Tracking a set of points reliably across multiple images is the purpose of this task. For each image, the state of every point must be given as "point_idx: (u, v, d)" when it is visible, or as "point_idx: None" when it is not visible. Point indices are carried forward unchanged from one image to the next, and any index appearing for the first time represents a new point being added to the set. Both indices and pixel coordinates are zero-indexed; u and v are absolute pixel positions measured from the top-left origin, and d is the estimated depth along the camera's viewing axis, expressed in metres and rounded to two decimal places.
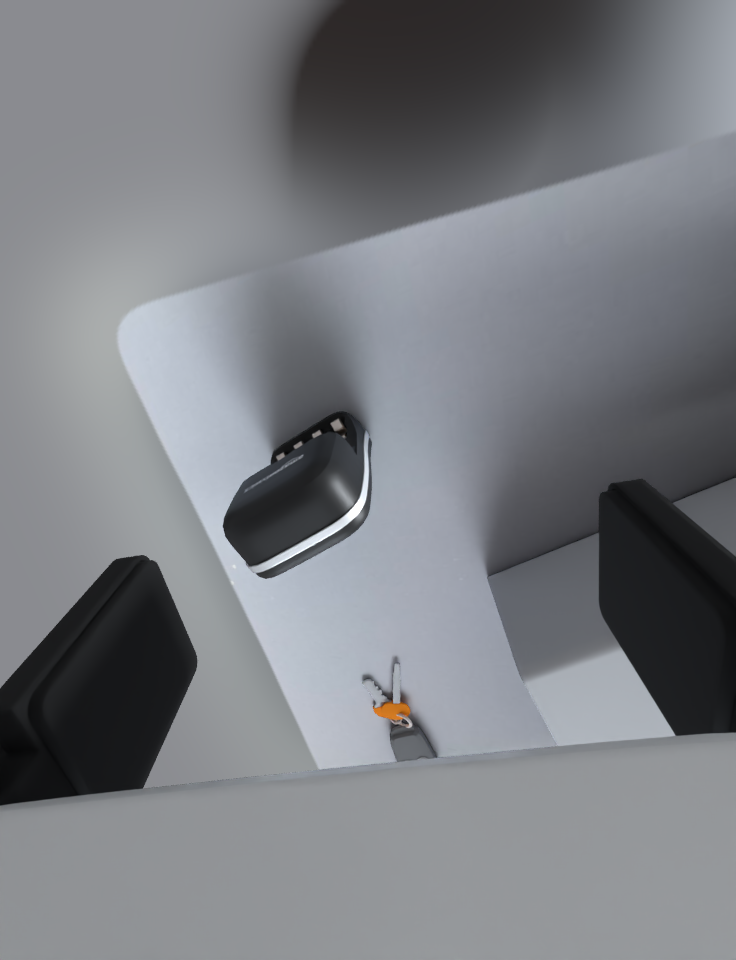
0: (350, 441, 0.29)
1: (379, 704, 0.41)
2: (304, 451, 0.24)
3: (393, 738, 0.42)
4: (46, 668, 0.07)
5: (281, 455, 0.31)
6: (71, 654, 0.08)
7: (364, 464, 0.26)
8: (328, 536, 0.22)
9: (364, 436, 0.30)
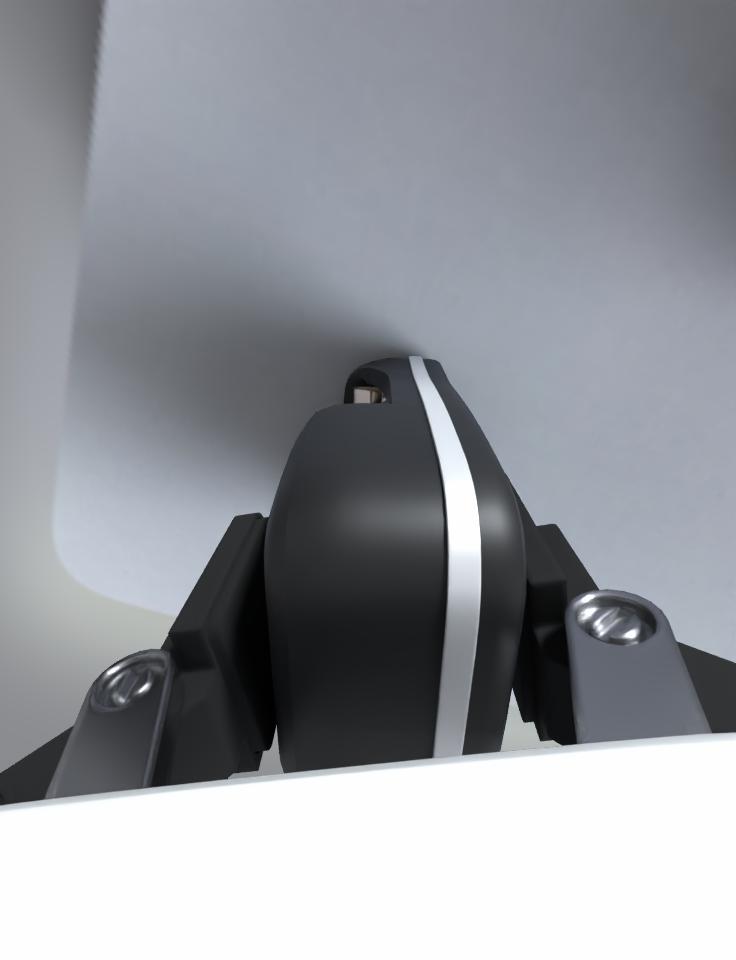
0: (388, 395, 0.13)
1: None
2: None
3: None
4: (215, 599, 0.08)
5: None
6: (230, 589, 0.08)
7: (423, 401, 0.10)
8: (476, 655, 0.06)
9: (410, 365, 0.15)
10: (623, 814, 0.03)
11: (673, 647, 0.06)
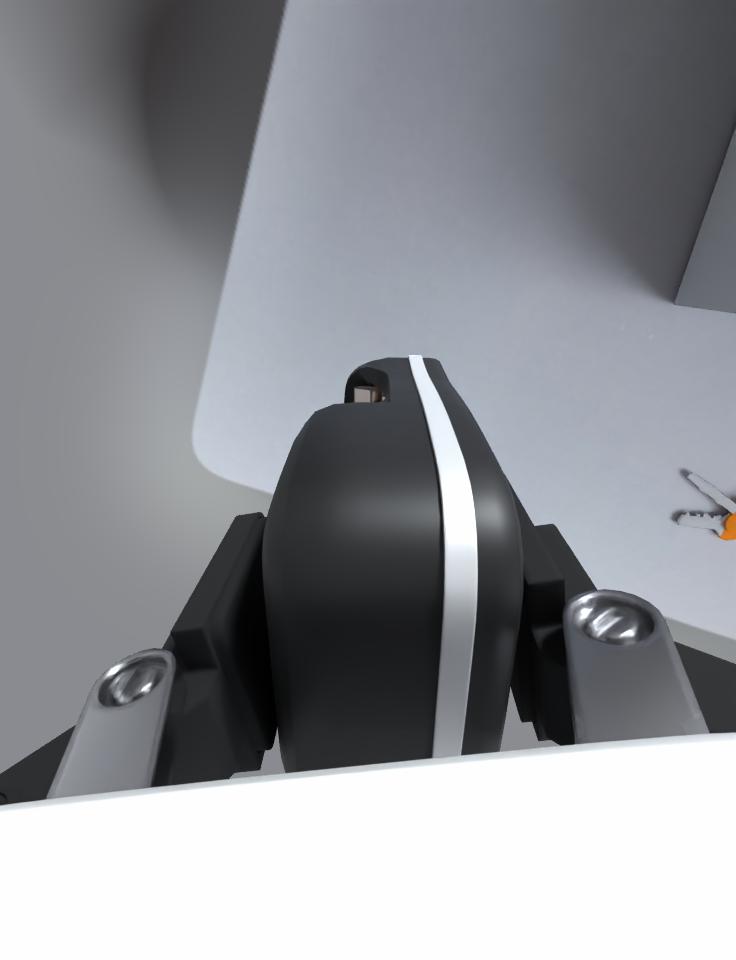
0: (388, 394, 0.13)
1: (721, 528, 0.32)
2: None
3: None
4: (216, 598, 0.08)
5: None
6: (231, 588, 0.08)
7: (422, 400, 0.10)
8: (474, 651, 0.06)
9: (410, 364, 0.15)
10: (623, 814, 0.03)
11: (670, 647, 0.06)
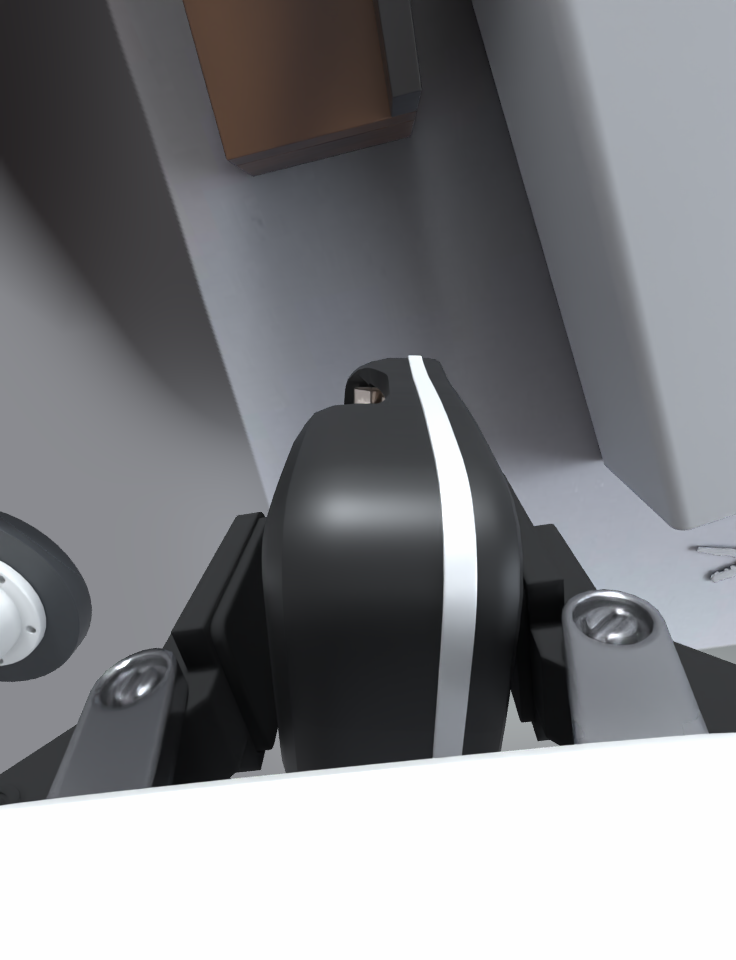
0: (388, 395, 0.13)
1: None
2: None
3: None
4: (217, 598, 0.08)
5: None
6: (232, 588, 0.08)
7: (421, 401, 0.10)
8: (474, 654, 0.06)
9: (409, 364, 0.14)
10: (623, 814, 0.03)
11: (669, 647, 0.06)
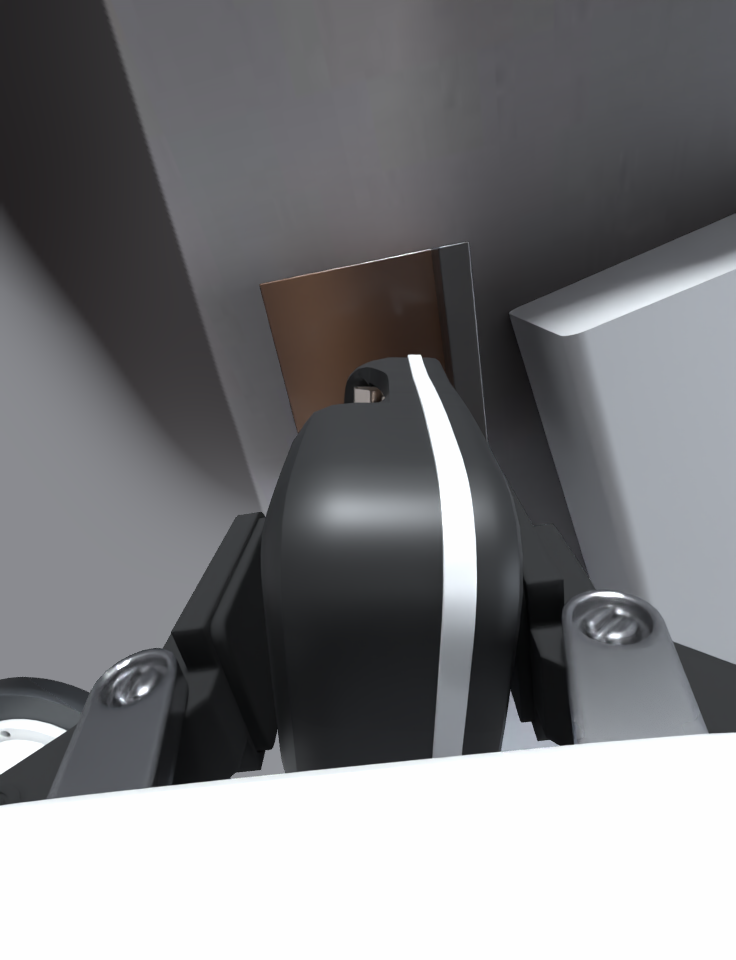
0: (387, 394, 0.13)
1: None
2: None
3: None
4: (217, 598, 0.08)
5: None
6: (232, 589, 0.08)
7: (421, 400, 0.10)
8: (473, 653, 0.06)
9: (409, 363, 0.14)
10: (623, 814, 0.03)
11: (669, 647, 0.06)
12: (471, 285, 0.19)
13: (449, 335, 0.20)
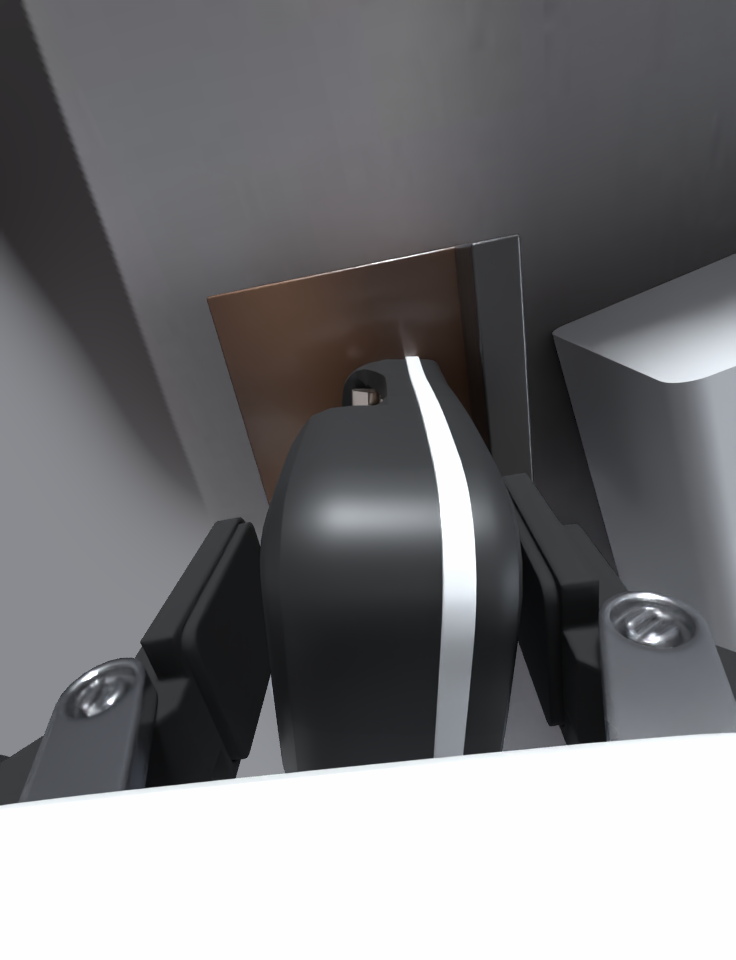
0: (385, 397, 0.13)
1: None
2: None
3: None
4: (189, 606, 0.08)
5: None
6: (205, 596, 0.08)
7: (419, 402, 0.10)
8: (473, 657, 0.06)
9: (407, 365, 0.14)
10: (623, 814, 0.03)
11: (712, 652, 0.06)
12: (520, 302, 0.12)
13: (484, 377, 0.13)
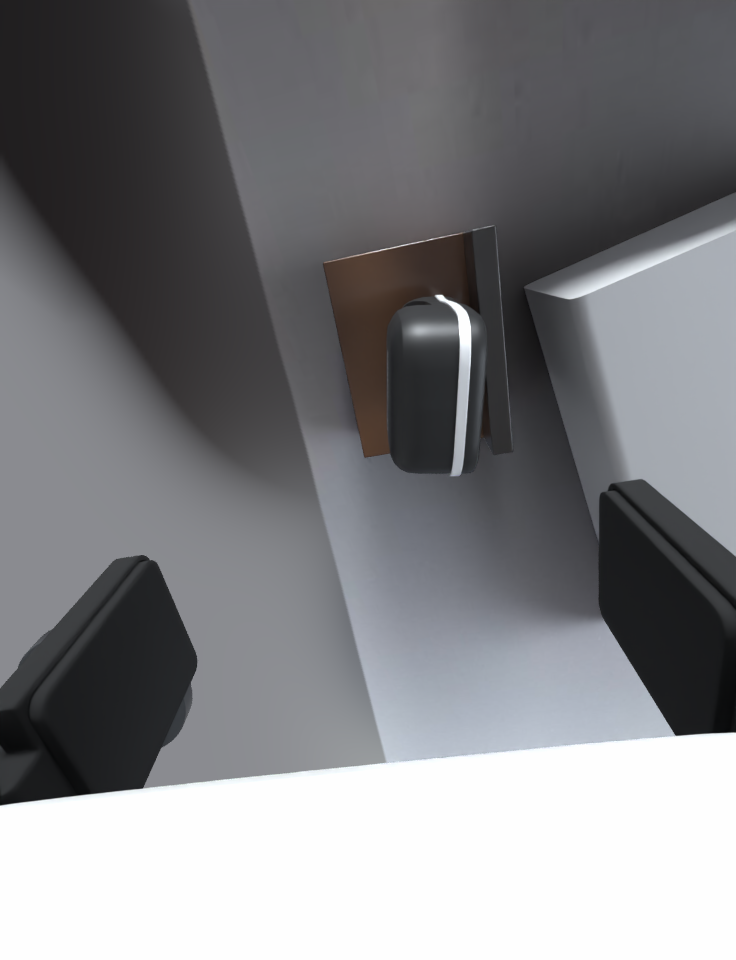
0: None
1: None
2: None
3: None
4: (46, 668, 0.07)
5: None
6: (71, 654, 0.08)
7: (447, 303, 0.22)
8: (470, 372, 0.18)
9: (437, 298, 0.26)
10: (623, 814, 0.03)
11: None
12: (497, 260, 0.24)
13: (478, 300, 0.25)
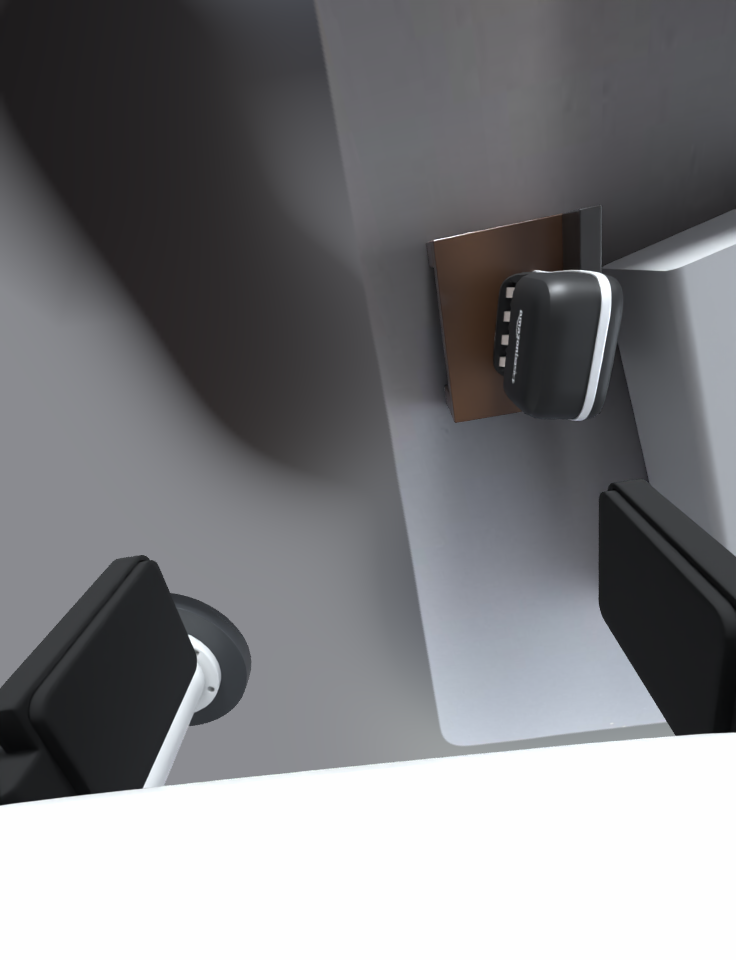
0: None
1: None
2: (518, 309, 0.24)
3: None
4: (46, 668, 0.07)
5: (501, 360, 0.32)
6: (71, 654, 0.08)
7: (566, 271, 0.25)
8: (608, 323, 0.21)
9: (539, 272, 0.29)
10: (623, 814, 0.03)
11: None
12: (600, 236, 0.27)
13: None
